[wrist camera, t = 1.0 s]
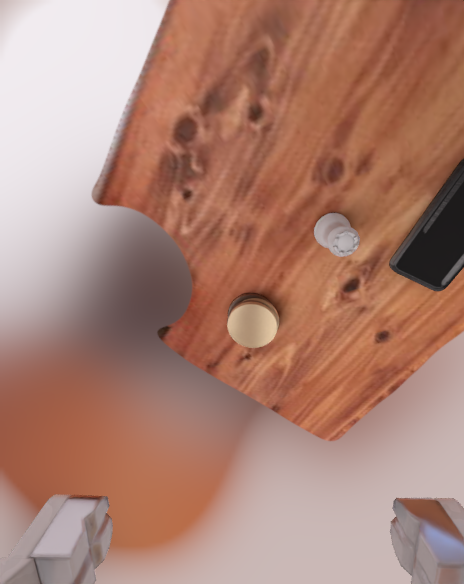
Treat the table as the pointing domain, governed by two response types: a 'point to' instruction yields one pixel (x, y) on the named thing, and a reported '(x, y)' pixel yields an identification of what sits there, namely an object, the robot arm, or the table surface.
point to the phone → (436, 239)
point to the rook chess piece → (336, 234)
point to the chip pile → (252, 320)
